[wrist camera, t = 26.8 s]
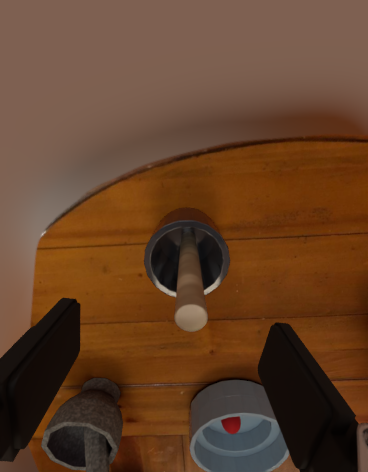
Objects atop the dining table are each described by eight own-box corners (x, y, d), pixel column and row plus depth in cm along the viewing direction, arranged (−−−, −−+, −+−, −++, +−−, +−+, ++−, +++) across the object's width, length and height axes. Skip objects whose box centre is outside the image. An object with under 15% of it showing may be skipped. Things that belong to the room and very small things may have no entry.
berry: (223, 432, 32) (225, 439, 29) (217, 408, 33) (219, 412, 30) (241, 427, 32) (245, 434, 29) (235, 403, 33) (238, 407, 31)
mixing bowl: (183, 432, 35) (183, 473, 30) (197, 371, 31) (199, 407, 26) (263, 441, 35) (275, 483, 31) (287, 382, 31) (305, 420, 27)
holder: (152, 262, 26) (140, 293, 19) (159, 202, 23) (148, 213, 17) (211, 270, 26) (220, 304, 19) (223, 212, 24) (238, 227, 17)
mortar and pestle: (60, 394, 33) (-9, 514, 21) (89, 359, 30) (31, 471, 19) (118, 424, 35) (84, 549, 23) (150, 393, 32) (130, 514, 21)
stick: (180, 244, 24) (172, 330, 11) (181, 230, 24) (176, 302, 10) (194, 246, 24) (205, 333, 11) (196, 232, 24) (210, 305, 11)
